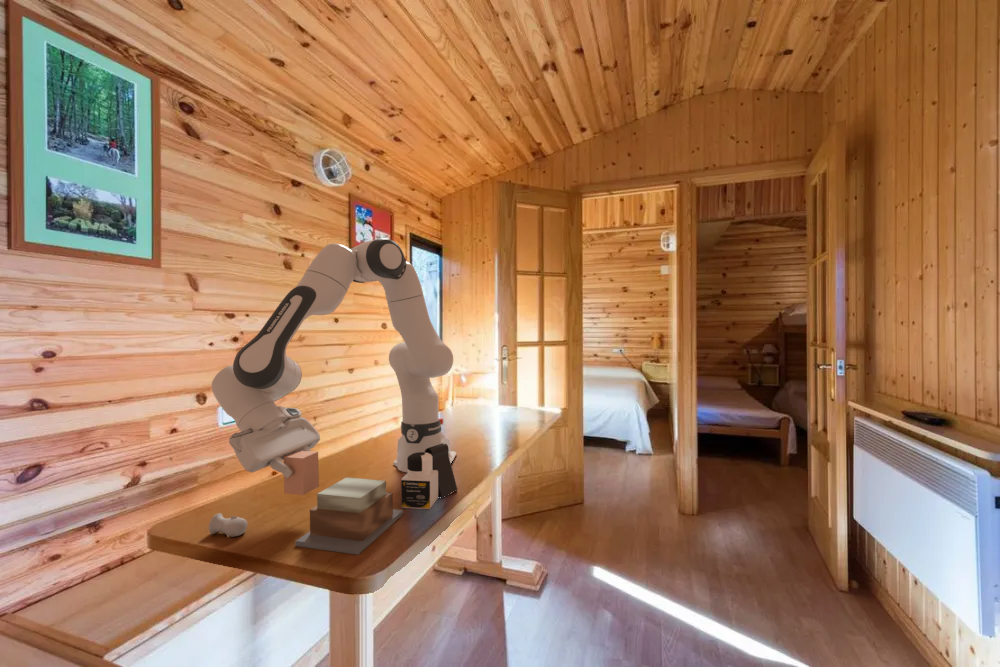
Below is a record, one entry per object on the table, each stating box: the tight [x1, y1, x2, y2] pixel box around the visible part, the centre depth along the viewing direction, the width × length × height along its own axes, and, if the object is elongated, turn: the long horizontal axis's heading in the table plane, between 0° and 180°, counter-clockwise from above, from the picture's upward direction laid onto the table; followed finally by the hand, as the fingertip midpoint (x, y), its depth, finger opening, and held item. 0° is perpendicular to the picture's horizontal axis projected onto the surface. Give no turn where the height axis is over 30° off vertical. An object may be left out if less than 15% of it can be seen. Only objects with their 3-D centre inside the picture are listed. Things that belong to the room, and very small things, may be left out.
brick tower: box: [309, 476, 394, 541], centre depth 91 cm, size 12×12×8 cm
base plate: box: [295, 508, 404, 555], centre depth 91 cm, size 18×14×1 cm
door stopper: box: [425, 443, 458, 499], centre depth 111 cm, size 9×6×12 cm, turn 54°
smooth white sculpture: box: [208, 512, 248, 538], centre depth 89 cm, size 4×8×5 cm
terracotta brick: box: [283, 450, 320, 496], centre depth 95 cm, size 5×5×8 cm
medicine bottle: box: [400, 452, 439, 510], centre depth 104 cm, size 7×7×12 cm
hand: (302, 470), depth 95 cm, fingers closed on terracotta brick, 5 cm apart
